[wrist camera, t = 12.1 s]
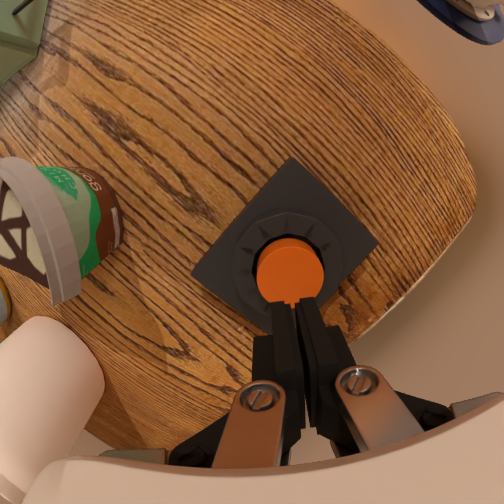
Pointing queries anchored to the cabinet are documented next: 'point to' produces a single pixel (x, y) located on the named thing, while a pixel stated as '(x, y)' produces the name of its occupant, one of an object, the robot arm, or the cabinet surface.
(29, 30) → the green cabinet drawer
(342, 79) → the cabinet surface
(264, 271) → the button
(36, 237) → the food container
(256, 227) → the block
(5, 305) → the bottle
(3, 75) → the green drawer box
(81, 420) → the can
